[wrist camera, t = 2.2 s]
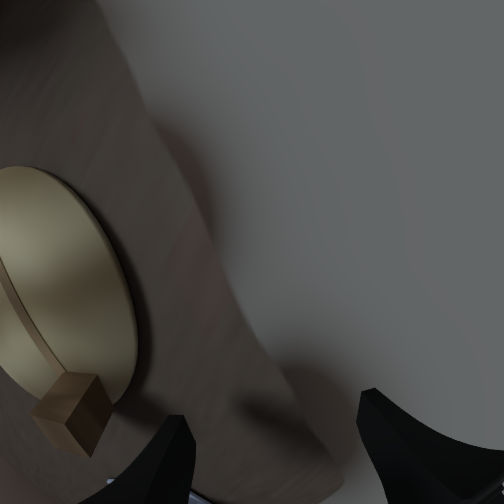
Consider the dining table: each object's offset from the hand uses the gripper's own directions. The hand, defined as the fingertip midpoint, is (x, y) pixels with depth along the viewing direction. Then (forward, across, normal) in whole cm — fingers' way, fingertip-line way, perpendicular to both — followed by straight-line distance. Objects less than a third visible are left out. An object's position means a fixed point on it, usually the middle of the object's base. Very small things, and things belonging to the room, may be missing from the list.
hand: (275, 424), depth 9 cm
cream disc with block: (+3, +13, -5) cm, 14 cm away
